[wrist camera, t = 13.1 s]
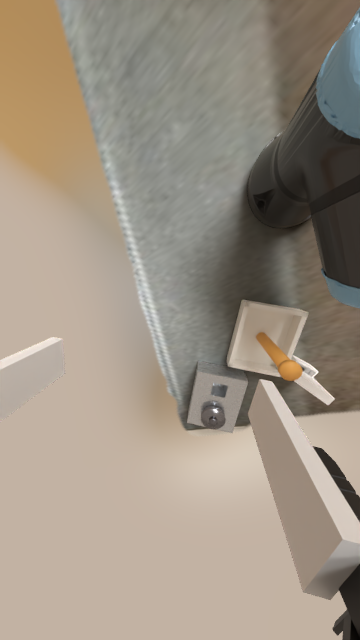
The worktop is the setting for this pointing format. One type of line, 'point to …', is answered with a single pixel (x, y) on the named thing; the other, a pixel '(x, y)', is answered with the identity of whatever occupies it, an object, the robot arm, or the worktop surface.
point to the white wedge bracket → (311, 381)
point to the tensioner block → (216, 396)
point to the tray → (272, 321)
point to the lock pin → (280, 358)
